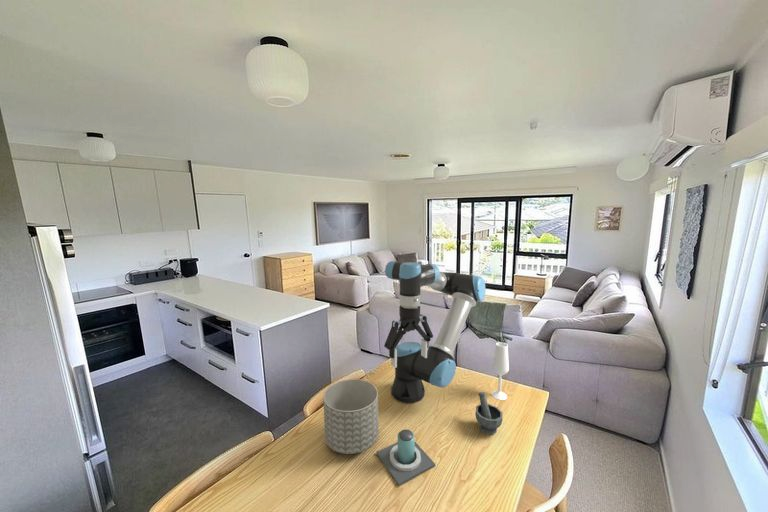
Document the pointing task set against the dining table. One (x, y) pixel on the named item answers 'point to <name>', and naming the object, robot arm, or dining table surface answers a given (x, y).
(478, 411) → the mortar and pestle
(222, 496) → the dining table surface
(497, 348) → the champagne flute
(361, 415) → the planter
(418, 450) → the holder
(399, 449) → the teal and grey peg
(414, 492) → the dining table surface
